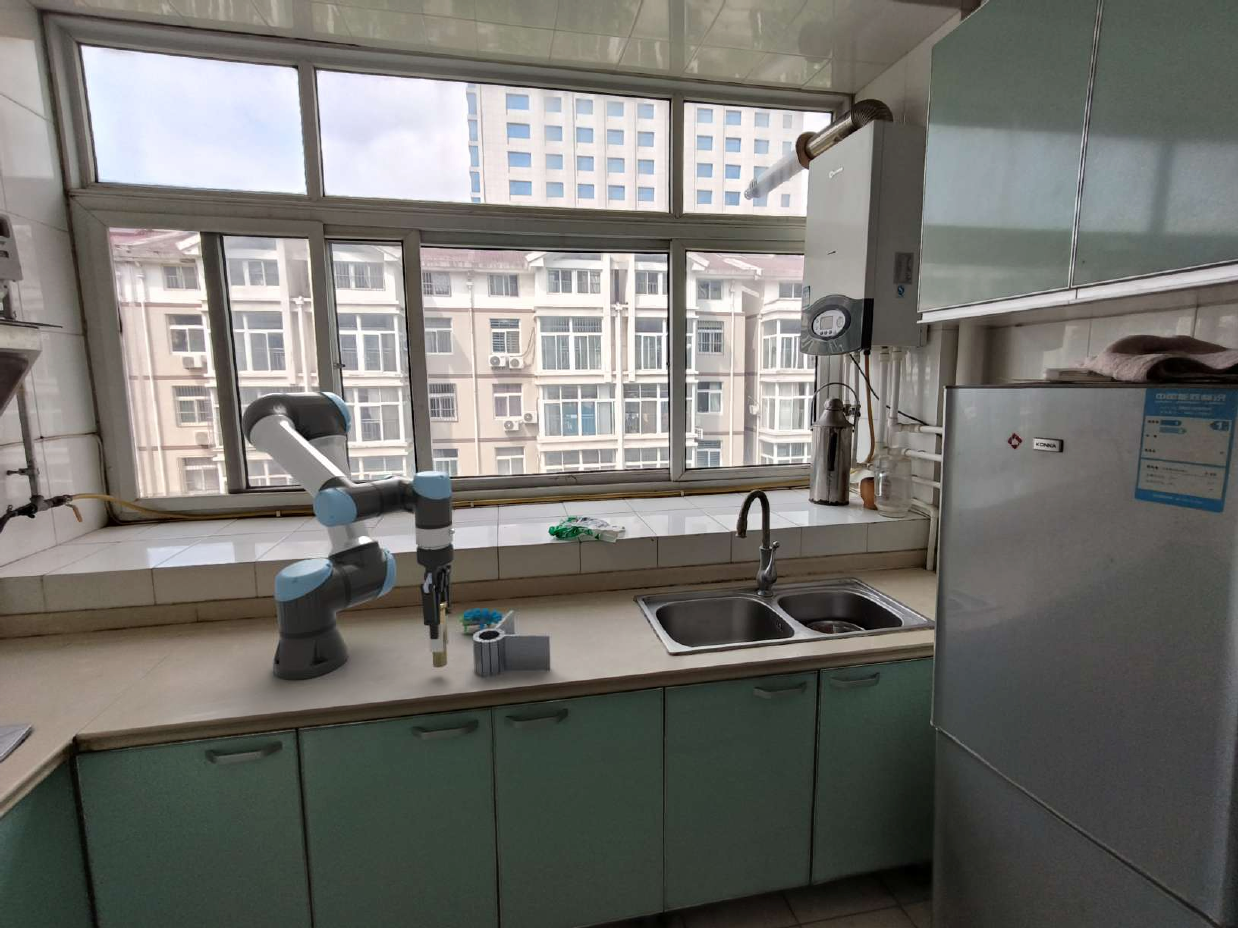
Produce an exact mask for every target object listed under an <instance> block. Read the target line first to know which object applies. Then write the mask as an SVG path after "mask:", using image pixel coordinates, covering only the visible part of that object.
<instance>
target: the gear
mask: <svg viewBox="0 0 1238 928" xmlns="http://www.w3.org/2000/svg"><path fill="white" fill-rule="evenodd" d="M491 611H492V612H490V607H489V608H488V607H484V608H483V610H482V609H481V608H480V607H475V608H474V609H473V610H472V609H467V611H466V612H463V615H460V616H459V623H462V627H463V633H462V634H463V635H464V636H465V635H467V632H468V631H467V630H468V627H472V626H475V627H476V626H479V631H480V630H484V629H485V625H487V626H491V625H492V624H495V625H498V623H499V622H500V621H501V620H502V619H503V613H501V612H498V609H492V610H491Z"/></svg>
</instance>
